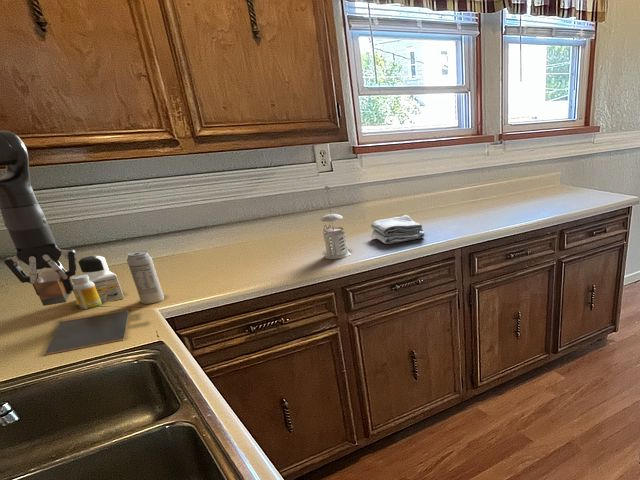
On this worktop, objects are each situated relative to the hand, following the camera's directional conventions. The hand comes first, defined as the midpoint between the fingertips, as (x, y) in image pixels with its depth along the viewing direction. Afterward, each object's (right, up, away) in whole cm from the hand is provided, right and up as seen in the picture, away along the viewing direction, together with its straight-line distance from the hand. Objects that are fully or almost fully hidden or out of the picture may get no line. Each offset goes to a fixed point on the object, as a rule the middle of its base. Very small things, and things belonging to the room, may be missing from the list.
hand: (57, 294), depth 127 cm
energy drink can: (+8, +1, +26) cm, 27 cm away
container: (-9, +2, +30) cm, 31 cm away
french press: (+51, +23, +67) cm, 87 cm away
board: (+4, -9, +7) cm, 12 cm away
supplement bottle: (-9, -1, +23) cm, 25 cm away
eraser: (0, -1, 0) cm, 1 cm away
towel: (+71, +34, +87) cm, 117 cm away
